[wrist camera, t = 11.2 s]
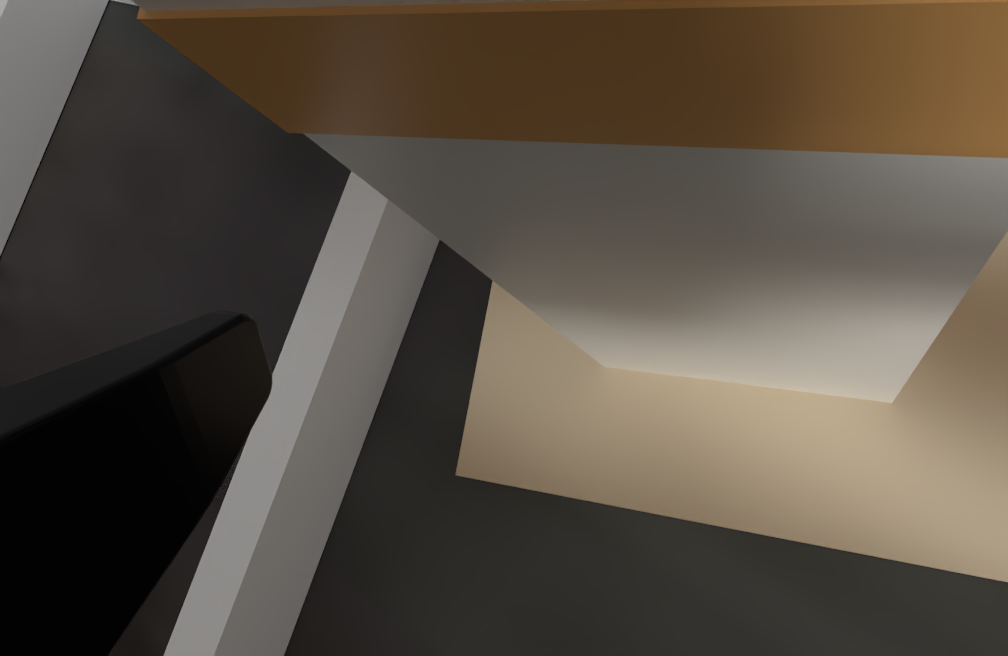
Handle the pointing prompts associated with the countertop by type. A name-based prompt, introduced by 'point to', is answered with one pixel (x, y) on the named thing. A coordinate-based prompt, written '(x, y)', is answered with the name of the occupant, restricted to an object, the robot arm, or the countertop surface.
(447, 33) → the module
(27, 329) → the countertop surface
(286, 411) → the grey angled frame
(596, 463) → the pad
